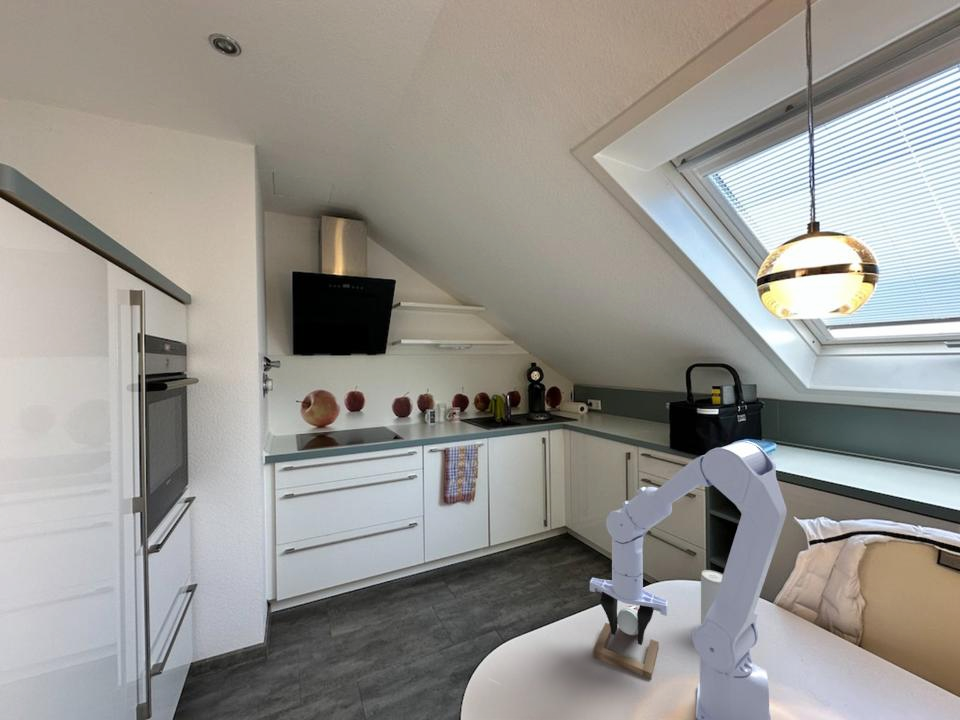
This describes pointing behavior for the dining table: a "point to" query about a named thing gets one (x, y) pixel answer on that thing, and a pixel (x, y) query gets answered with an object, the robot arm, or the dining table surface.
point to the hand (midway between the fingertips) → (627, 636)
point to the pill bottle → (628, 620)
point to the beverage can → (709, 590)
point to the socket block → (621, 660)
